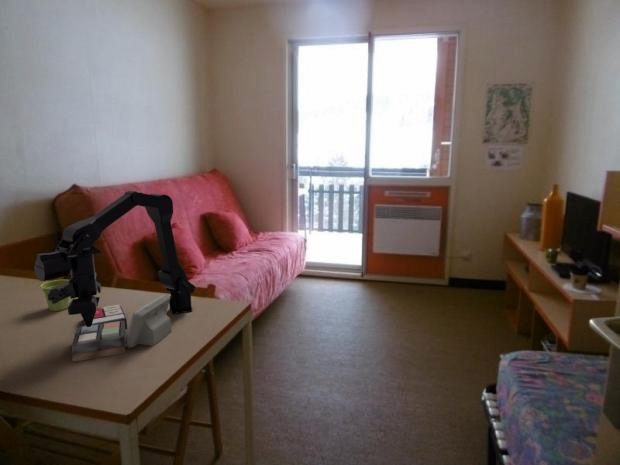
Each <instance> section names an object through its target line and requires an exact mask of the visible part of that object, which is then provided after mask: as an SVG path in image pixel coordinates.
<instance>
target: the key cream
mask: <svg viewBox="0 0 620 465" xmlns="http://www.w3.org/2000/svg"><path fill="white" fill-rule="evenodd" d="M93 340H97V333H91V334H84V335H80V336H79V339H78V343H81V342H87V341H93Z"/></svg>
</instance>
